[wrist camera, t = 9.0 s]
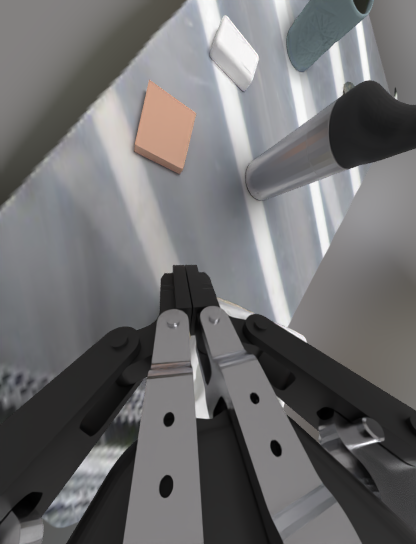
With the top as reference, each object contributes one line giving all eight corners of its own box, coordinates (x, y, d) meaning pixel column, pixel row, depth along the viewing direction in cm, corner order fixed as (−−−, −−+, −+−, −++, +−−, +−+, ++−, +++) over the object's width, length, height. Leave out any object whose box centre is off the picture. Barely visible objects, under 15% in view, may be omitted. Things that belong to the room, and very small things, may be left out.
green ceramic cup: (306, 23, 39) (374, -64, 28) (315, 75, 42) (378, 15, 31) (279, 23, 36) (343, -75, 25) (290, 79, 39) (351, 14, 28)
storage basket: (258, 312, 44) (313, 338, 31) (235, 368, 43) (282, 420, 30) (182, 279, 33) (217, 299, 20) (149, 353, 32) (162, 424, 19)
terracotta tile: (183, 169, 28) (196, 113, 28) (134, 144, 25) (149, 79, 25) (179, 175, 31) (191, 123, 30) (134, 152, 27) (147, 93, 27)
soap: (207, 57, 30) (215, 39, 28) (216, 30, 30) (225, 9, 28) (243, 94, 34) (253, 81, 32) (251, 71, 34) (261, 55, 32)
